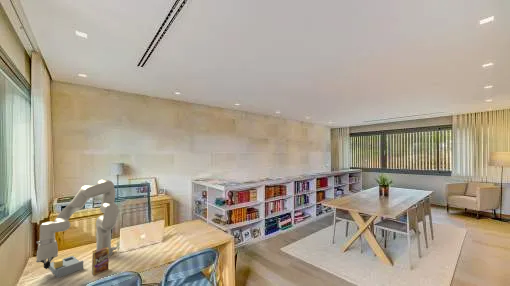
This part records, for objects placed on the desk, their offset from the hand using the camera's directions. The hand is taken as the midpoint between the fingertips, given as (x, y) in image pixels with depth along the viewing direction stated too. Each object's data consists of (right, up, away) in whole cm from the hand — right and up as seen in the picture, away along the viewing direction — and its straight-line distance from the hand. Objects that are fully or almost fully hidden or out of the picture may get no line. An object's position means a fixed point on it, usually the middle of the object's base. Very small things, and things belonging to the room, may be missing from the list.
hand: (46, 268), depth 151 cm
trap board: (+6, -4, +8) cm, 11 cm away
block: (+4, -1, +4) cm, 6 cm away
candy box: (+34, -5, +3) cm, 34 cm away
